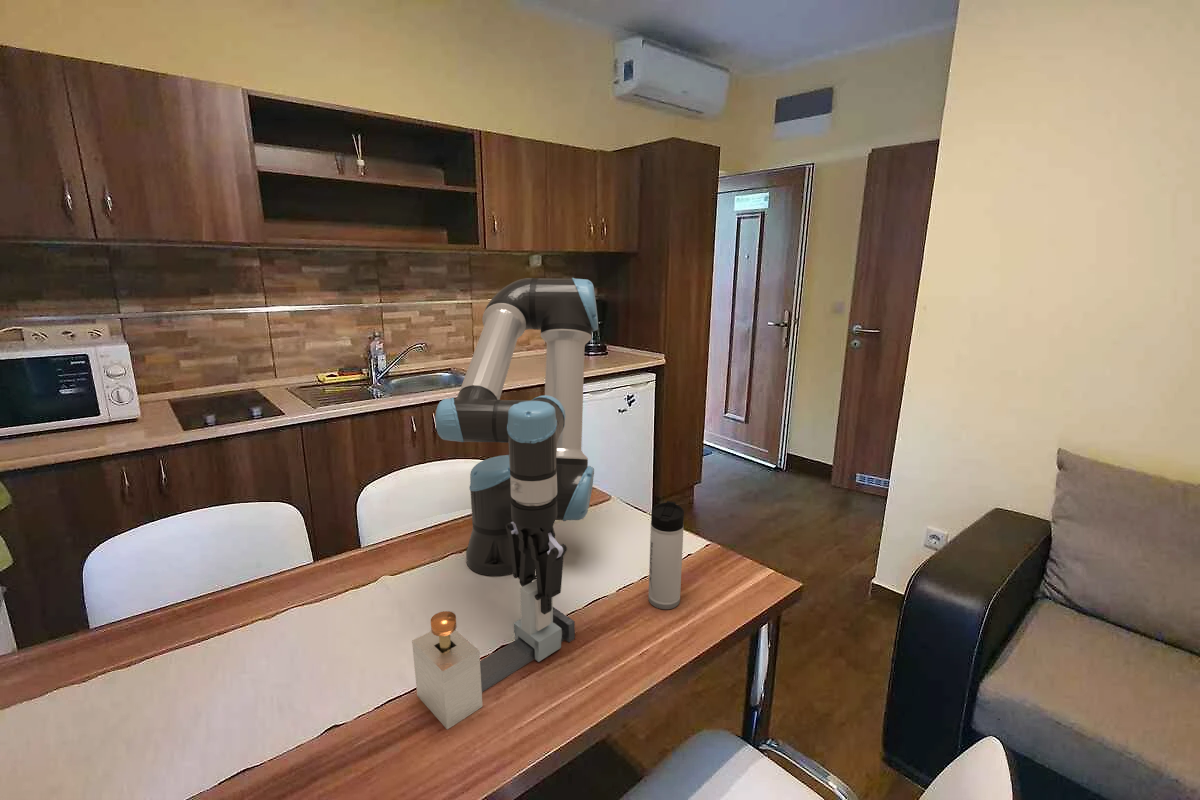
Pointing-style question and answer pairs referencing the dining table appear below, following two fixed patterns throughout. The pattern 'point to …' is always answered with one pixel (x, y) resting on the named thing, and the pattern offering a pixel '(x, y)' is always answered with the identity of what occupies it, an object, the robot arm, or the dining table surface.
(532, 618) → the carriage
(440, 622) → the knob
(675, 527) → the travel mug
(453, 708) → the rail
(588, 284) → the robot arm
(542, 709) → the dining table surface
